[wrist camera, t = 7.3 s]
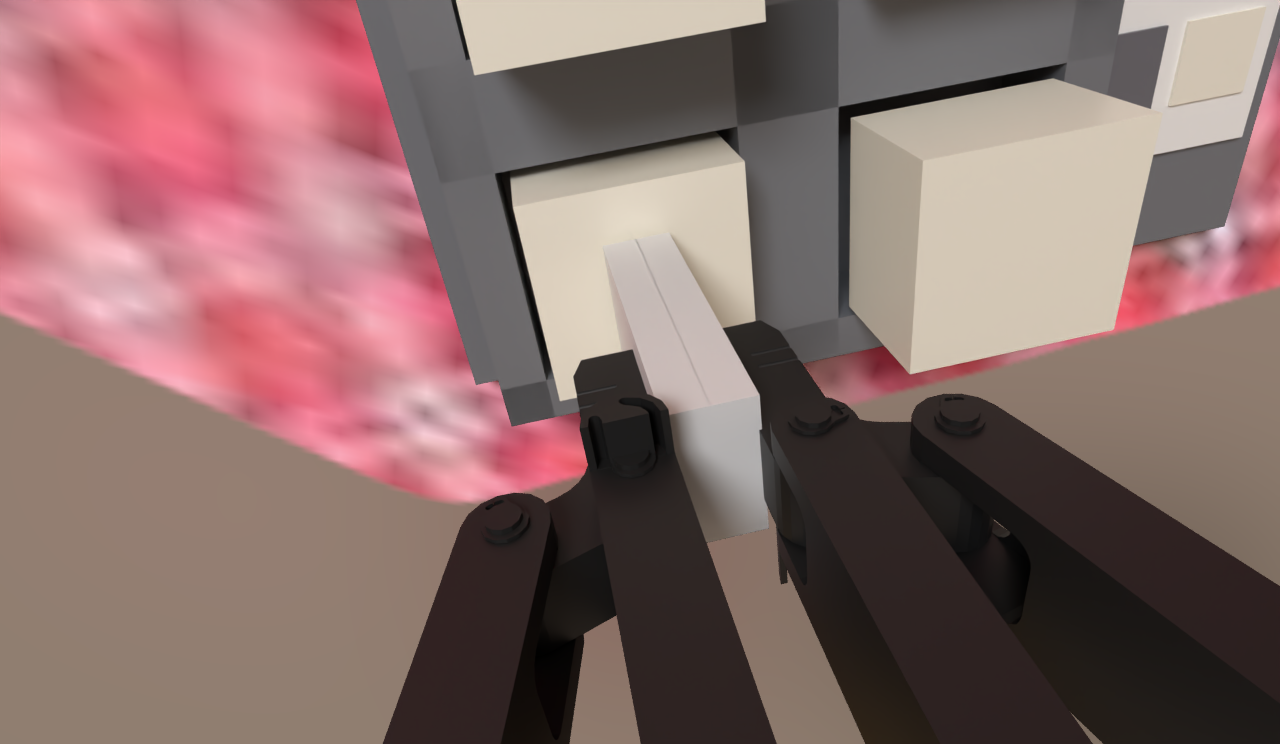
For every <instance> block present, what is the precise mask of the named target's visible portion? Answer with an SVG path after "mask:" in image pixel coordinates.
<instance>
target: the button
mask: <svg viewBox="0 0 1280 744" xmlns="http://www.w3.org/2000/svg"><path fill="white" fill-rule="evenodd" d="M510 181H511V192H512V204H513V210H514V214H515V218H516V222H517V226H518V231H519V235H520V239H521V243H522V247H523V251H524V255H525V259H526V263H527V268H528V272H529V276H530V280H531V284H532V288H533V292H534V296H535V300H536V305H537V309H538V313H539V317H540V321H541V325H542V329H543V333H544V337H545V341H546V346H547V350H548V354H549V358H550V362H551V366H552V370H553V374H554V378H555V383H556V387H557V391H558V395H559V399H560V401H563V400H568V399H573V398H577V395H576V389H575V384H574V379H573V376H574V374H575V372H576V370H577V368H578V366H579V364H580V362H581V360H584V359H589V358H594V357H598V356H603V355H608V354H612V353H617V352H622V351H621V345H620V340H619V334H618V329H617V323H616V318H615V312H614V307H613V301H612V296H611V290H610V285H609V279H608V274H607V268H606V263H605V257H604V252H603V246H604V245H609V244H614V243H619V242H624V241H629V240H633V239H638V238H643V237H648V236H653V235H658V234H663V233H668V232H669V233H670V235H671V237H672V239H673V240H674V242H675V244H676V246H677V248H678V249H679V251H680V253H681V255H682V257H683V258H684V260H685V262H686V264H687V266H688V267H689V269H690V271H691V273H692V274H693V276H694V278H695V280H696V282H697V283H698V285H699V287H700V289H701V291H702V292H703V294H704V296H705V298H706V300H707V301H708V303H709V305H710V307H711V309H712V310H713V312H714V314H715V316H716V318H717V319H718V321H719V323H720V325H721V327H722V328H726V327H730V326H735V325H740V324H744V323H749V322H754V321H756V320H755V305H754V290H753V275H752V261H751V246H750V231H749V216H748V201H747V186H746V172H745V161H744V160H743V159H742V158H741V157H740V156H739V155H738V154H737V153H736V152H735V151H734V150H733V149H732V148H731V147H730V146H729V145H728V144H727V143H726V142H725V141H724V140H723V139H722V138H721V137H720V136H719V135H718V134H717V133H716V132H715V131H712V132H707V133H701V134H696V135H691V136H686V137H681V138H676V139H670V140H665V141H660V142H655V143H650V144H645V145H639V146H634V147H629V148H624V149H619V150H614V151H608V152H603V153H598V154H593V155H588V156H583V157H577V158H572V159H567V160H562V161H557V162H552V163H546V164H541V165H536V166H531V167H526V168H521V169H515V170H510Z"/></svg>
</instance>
